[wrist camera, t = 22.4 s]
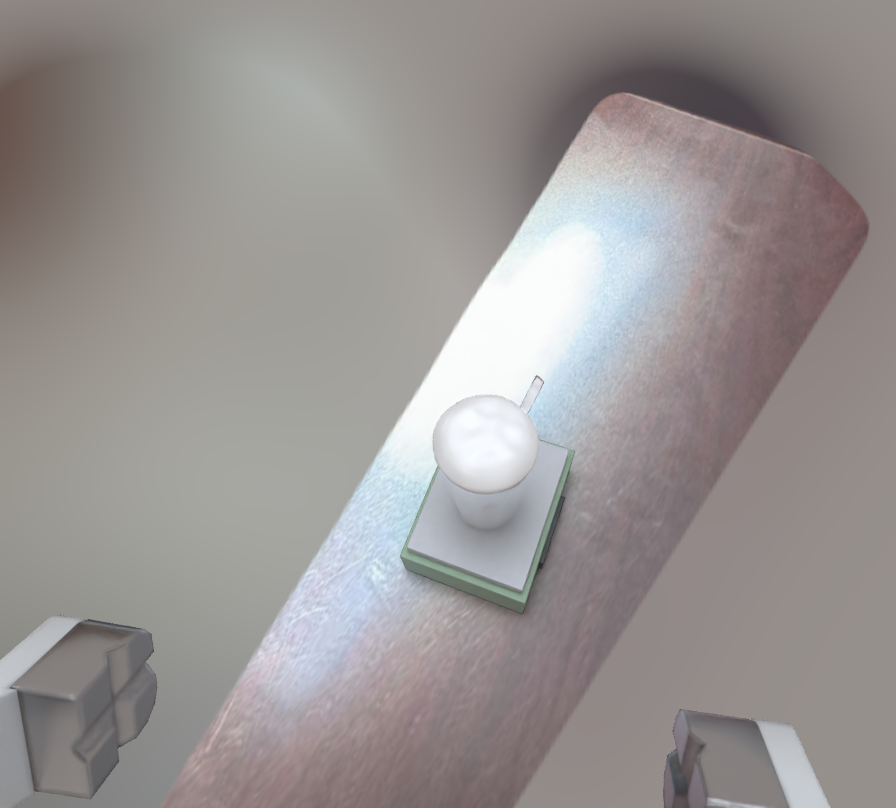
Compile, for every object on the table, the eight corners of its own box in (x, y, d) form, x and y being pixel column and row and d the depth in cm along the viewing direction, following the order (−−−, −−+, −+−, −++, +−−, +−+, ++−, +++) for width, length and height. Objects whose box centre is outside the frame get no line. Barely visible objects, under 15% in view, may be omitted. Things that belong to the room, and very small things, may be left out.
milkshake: (558, 496, 36) (580, 415, 27) (482, 561, 35) (479, 499, 26) (501, 438, 38) (504, 343, 29) (427, 498, 36) (406, 418, 28)
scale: (573, 471, 41) (581, 446, 37) (526, 615, 37) (530, 602, 34) (461, 434, 42) (458, 406, 39) (405, 569, 39) (397, 552, 35)
